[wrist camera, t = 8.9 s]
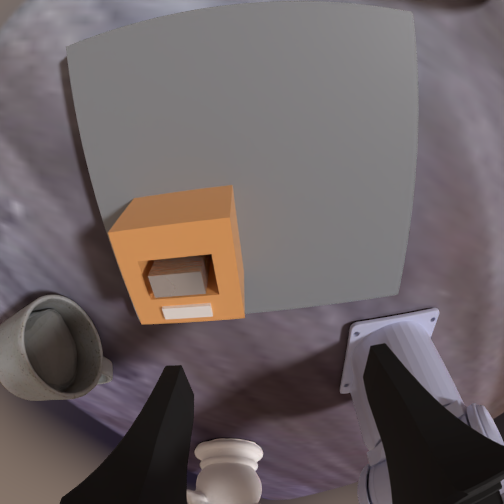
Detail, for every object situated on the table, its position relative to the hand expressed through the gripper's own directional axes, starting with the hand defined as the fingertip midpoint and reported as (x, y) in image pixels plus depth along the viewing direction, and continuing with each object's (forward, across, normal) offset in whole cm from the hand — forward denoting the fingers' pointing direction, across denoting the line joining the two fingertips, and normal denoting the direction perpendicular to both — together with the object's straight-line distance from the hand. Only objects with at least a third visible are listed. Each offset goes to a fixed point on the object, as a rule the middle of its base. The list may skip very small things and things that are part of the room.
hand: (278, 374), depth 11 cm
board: (+9, 0, -5) cm, 11 cm away
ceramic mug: (+10, +17, +6) cm, 21 cm away
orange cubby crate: (+8, +4, -2) cm, 9 cm away
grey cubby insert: (+8, +4, -2) cm, 9 cm away
